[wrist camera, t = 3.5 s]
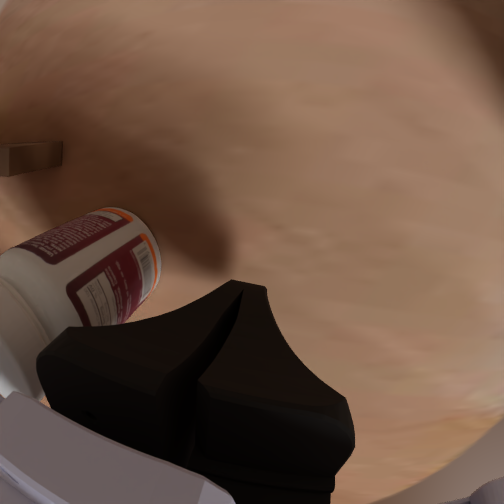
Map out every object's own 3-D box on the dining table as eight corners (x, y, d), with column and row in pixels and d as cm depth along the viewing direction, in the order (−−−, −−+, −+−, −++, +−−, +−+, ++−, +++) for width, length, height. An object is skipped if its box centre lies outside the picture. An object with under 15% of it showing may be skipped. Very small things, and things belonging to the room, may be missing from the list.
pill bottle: (70, 252, 14) (-53, 331, 6) (111, 183, 12) (-54, 243, 4) (131, 317, 14) (31, 433, 7) (184, 258, 13) (59, 395, 5)
